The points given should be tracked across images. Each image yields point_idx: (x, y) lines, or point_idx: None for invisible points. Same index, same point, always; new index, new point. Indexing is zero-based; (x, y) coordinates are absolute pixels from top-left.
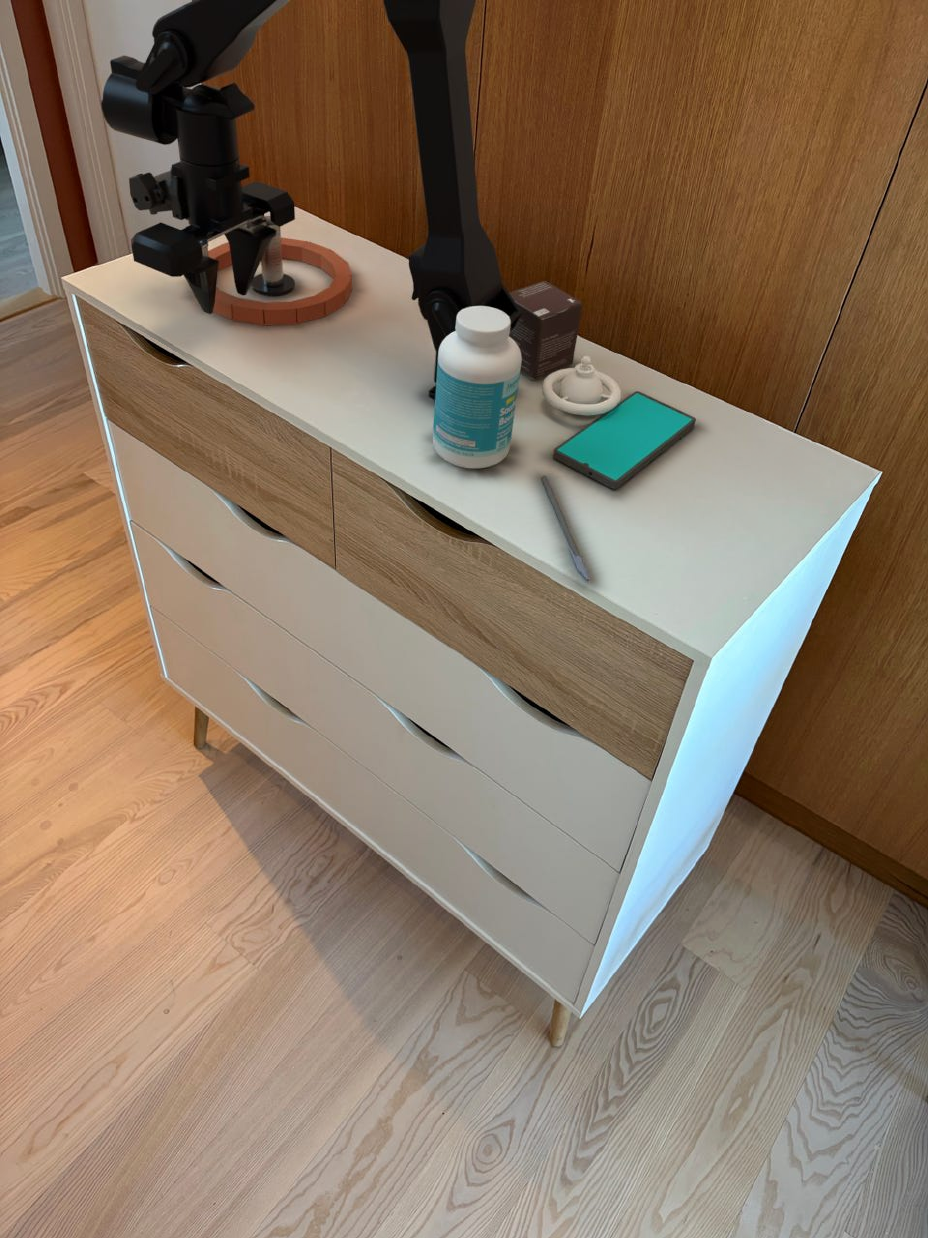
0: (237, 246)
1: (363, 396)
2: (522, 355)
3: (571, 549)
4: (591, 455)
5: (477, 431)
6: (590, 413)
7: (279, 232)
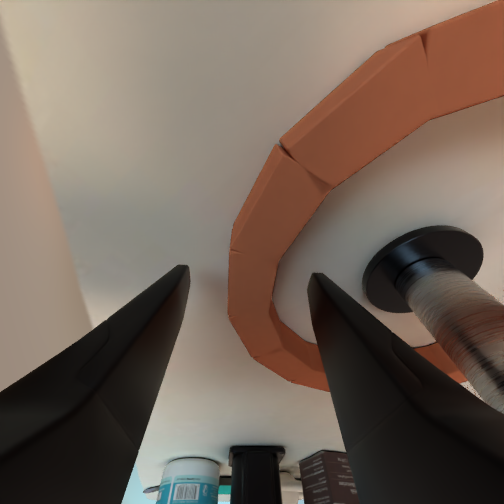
0: (389, 431)
1: (194, 428)
2: (308, 481)
3: (154, 489)
4: (227, 489)
5: None
6: None
7: None
